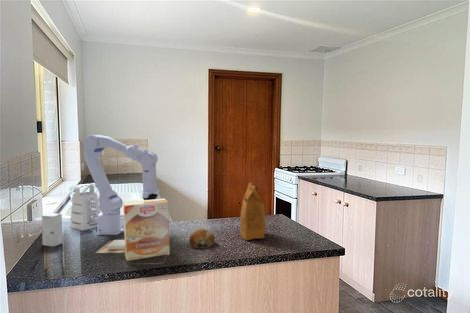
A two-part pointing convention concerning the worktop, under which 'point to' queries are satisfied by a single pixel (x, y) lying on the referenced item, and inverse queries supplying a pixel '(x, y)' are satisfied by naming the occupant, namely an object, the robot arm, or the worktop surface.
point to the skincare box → (52, 229)
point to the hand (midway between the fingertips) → (150, 211)
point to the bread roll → (201, 238)
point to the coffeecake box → (146, 228)
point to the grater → (84, 209)
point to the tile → (117, 245)
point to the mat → (105, 250)
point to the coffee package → (252, 215)
